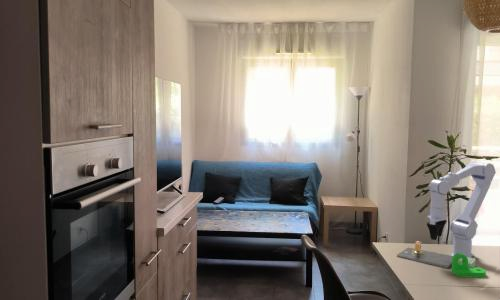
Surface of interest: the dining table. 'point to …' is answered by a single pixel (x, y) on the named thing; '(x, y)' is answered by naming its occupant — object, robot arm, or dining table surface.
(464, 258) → the mechanical part
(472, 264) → the cover
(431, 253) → the latch plate
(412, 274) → the dining table surface
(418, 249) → the t key
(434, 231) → the robot arm
